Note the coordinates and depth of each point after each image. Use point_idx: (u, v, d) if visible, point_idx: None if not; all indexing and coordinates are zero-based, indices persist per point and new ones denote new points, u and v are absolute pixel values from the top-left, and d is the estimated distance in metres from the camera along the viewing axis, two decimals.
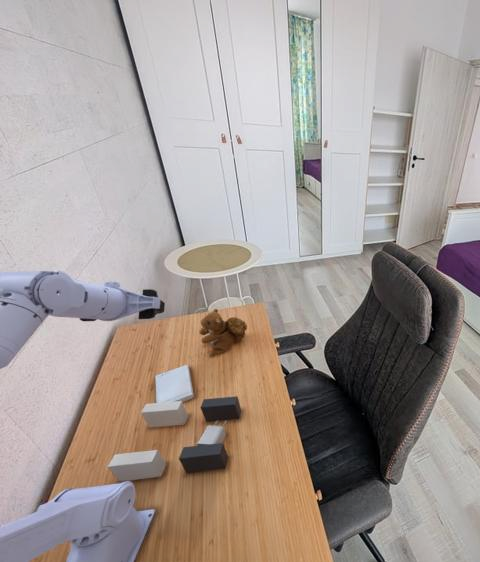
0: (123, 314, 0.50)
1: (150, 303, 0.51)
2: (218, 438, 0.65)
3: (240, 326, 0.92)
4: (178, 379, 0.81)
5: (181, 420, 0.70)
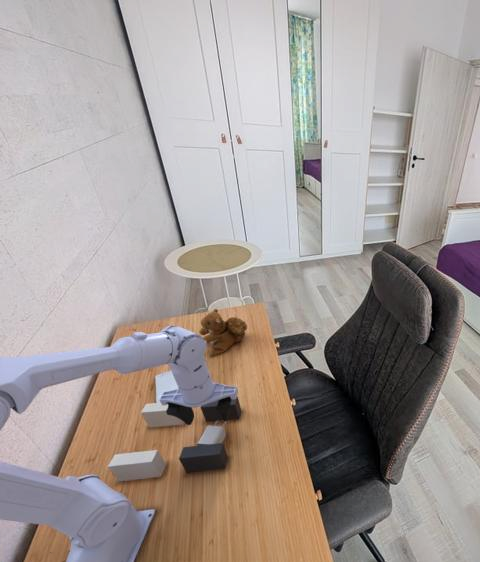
0: (208, 399, 0.58)
1: (232, 391, 0.61)
2: (218, 438, 0.65)
3: (240, 326, 0.92)
4: None
5: (181, 420, 0.70)
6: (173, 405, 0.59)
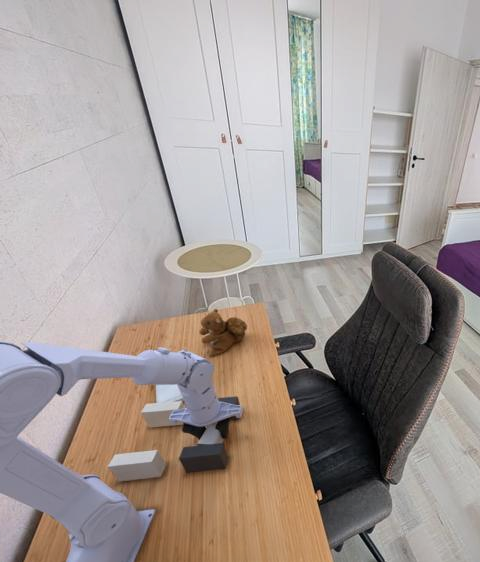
0: (215, 418, 0.62)
1: (237, 410, 0.64)
2: (218, 438, 0.65)
3: (240, 326, 0.92)
4: None
5: None
6: (188, 423, 0.63)
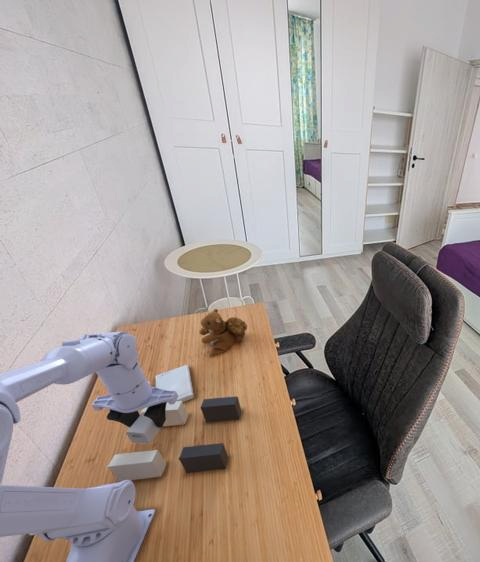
0: (143, 404, 0.56)
1: (170, 396, 0.59)
2: (150, 426, 0.60)
3: (240, 326, 0.92)
4: (178, 379, 0.81)
5: (181, 420, 0.70)
6: None
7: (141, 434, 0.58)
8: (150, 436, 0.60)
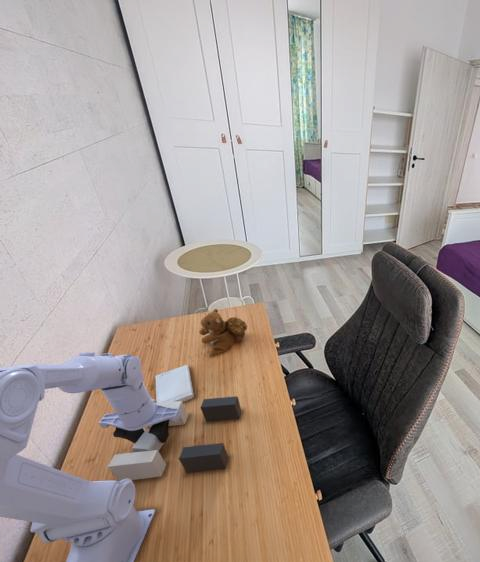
0: (148, 422, 0.59)
1: (173, 413, 0.61)
2: (154, 442, 0.63)
3: (240, 326, 0.92)
4: (178, 379, 0.81)
5: (181, 420, 0.70)
6: (121, 427, 0.60)
7: (146, 450, 0.61)
8: None
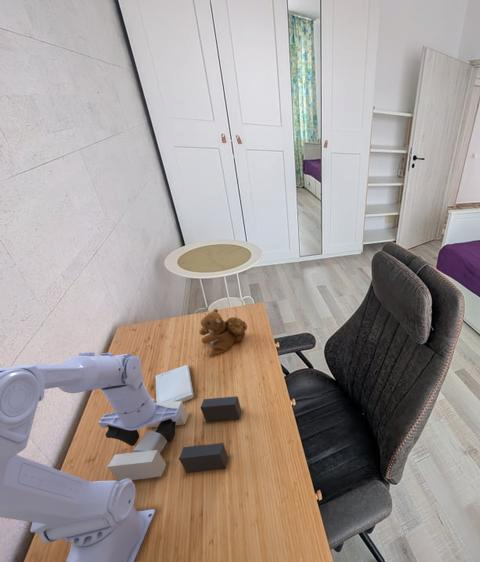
0: (147, 422, 0.59)
1: (173, 413, 0.61)
2: (156, 444, 0.63)
3: (240, 326, 0.92)
4: (178, 379, 0.81)
5: (181, 420, 0.70)
6: (113, 427, 0.60)
7: None
8: None
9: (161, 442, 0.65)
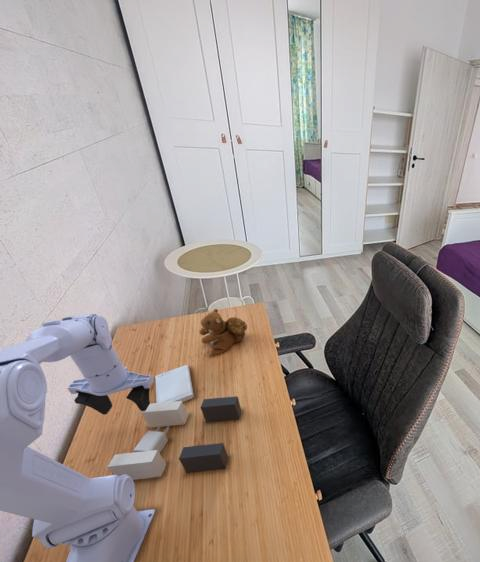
0: (118, 387, 0.58)
1: (145, 380, 0.60)
2: (156, 444, 0.63)
3: (240, 326, 0.92)
4: (178, 379, 0.81)
5: (181, 420, 0.70)
6: (83, 394, 0.58)
7: None
8: None
9: (161, 442, 0.65)
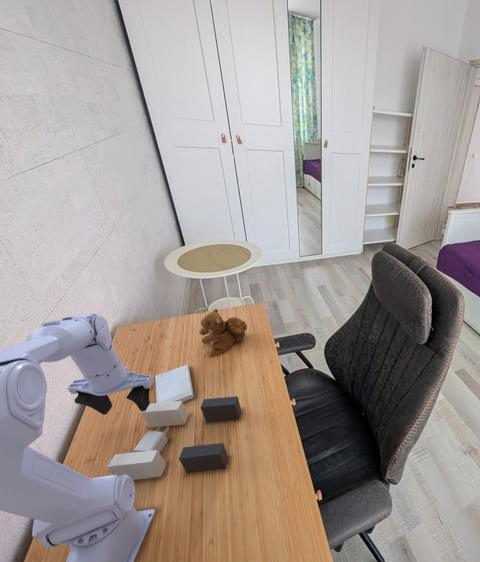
0: (118, 387, 0.58)
1: (145, 380, 0.60)
2: (156, 444, 0.63)
3: (240, 326, 0.92)
4: (178, 379, 0.81)
5: (181, 420, 0.70)
6: (83, 394, 0.58)
7: None
8: None
9: (161, 442, 0.65)
